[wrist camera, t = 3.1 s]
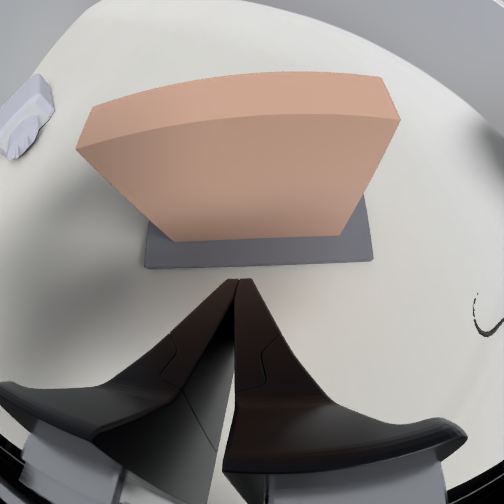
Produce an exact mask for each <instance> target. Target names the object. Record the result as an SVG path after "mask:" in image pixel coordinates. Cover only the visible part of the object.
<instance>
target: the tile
mask: <svg viewBox="0 0 504 504" xmlns="http://www.w3.org/2000/svg"><path fill="white" fill-rule="evenodd" d="M400 120H401V119H400V117H399V114H398V112H397V110H396V108H395V105H394V103H393V101H392V99H391V97H390V95H389V92H388V90H387V88H386V86H385V84H384V82H383V80H382V78H381V77H375V76H367V75H357V74H346V73H331V72H266V73H251V74H239V75H230V76H221V77H214V78H207V79H200V80H194V81H189V82H183V83H178V84H173V85H168V86H164V87H160V88H155V89H151V90H147V91H143V92H139V93H136V94H132V95H129V96H125V97H122V98H119V99H115V100H112V101H109V102H106V103H103V104H100V105H97V106H94V107H93V108H92V110H91V112H90V114H89V117H88V119H87V121H86V124H85V126H84V128H83V131H82V133H81V136H80V138H79V141H78V144H77V146H76V149H75V150H76V151H77V152H78V153H79V154H80V155H81V156H82V157H83V158H84V159H85V160H86V161H87V162H89V163H90V164H91V165H92V166H93V167H94V168H95V169H96V170H97V171H98V172H99V173H100V174H101V175H102V176H103V177H104V178H105V179H106V180H107V181H108V182H109V183H110V184H111V185H112V186H113V187H114V188H115V189H117V190H118V191H119V192H120V193H121V194H122V195H123V196H124V197H125V198H126V199H127V200H128V201H129V202H130V203H131V204H133V205H134V206H135V207H136V208H137V209H138V210H139V211H140V212H141V213H142V214H143V215H145V216H146V217H147V218H148V219H149V220H150V221H151V222H152V223H153V224H154V225H156V226H157V227H158V228H159V229H160V230H161V231H162V232H163V233H165V234H166V235H167V236H168V237H169V238H170V239H171V240H172V241H174V242H190V241H211V240H234V239H257V238H283V237H312V236H339V235H340V234H341V232H342V230H343V229H344V227H345V225H346V223H347V222H348V220H349V218H350V216H351V215H352V213H353V211H354V209H355V208H356V206H357V204H358V202H359V200H360V199H361V197H362V195H363V193H364V191H365V189H366V188H367V186H368V184H369V182H370V180H371V178H372V176H373V174H374V173H375V171H376V169H377V167H378V165H379V163H380V161H381V159H382V157H383V155H384V153H385V151H386V149H387V147H388V145H389V143H390V141H391V139H392V137H393V135H394V133H395V131H396V129H397V127H398V125H399V122H400Z"/></svg>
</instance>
